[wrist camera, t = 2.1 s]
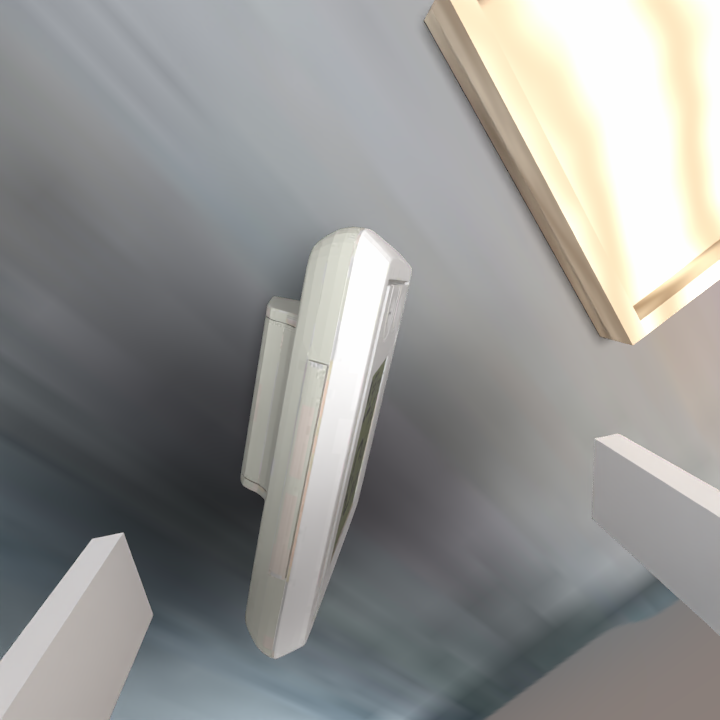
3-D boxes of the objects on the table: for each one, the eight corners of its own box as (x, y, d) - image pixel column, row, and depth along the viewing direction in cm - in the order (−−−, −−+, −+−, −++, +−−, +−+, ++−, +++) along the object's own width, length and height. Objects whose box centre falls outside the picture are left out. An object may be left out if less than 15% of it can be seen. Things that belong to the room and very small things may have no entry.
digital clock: (342, 515, 25) (372, 690, 15) (203, 476, 23) (128, 650, 13) (452, 280, 22) (581, 302, 12) (305, 211, 20) (311, 167, 10)
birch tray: (600, 336, 25) (632, 345, 22) (424, 20, 19) (442, -15, 16) (839, 152, 24) (900, 140, 21) (734, -241, 18) (802, -318, 15)
